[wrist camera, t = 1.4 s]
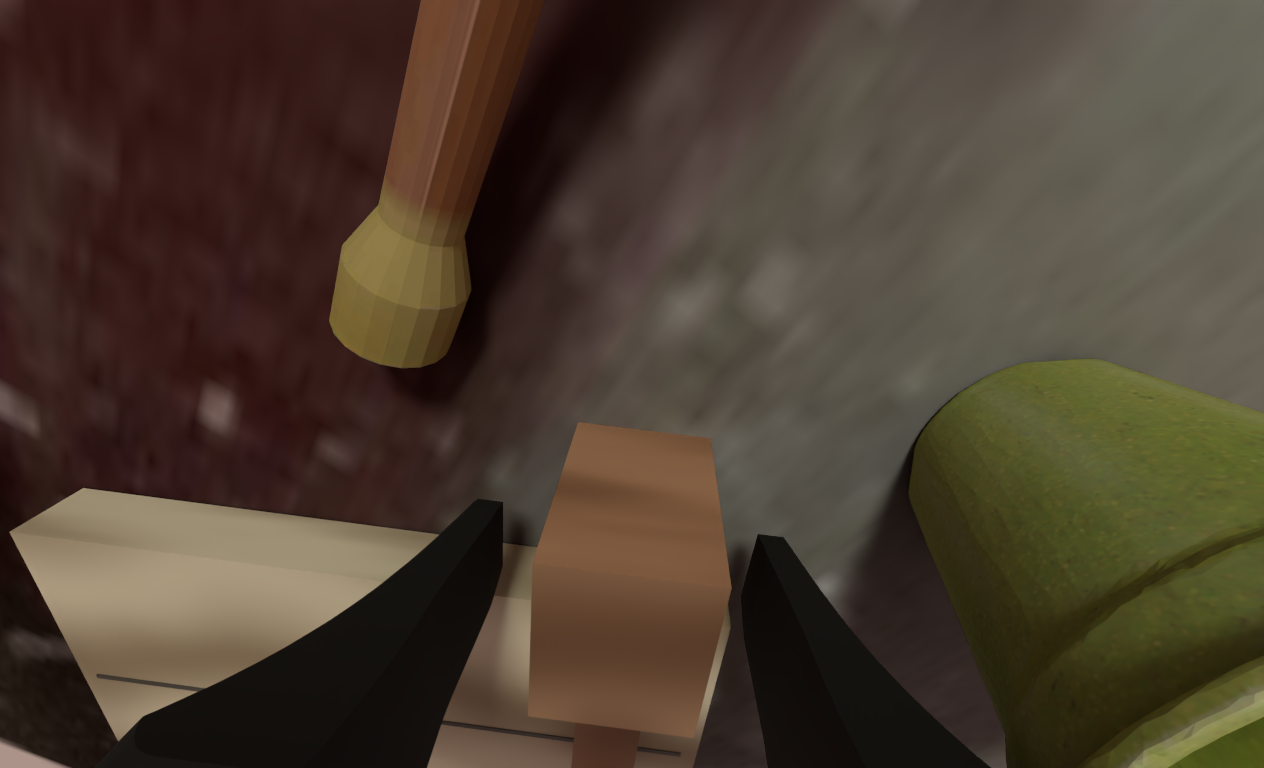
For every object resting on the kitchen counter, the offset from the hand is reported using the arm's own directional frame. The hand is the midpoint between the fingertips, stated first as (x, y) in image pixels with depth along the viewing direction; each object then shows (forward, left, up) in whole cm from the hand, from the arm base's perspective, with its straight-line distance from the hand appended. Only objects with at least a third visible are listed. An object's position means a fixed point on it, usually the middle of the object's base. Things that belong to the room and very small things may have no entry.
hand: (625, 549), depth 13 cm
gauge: (-4, 0, -3) cm, 5 cm away
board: (-8, +7, -3) cm, 11 cm away
